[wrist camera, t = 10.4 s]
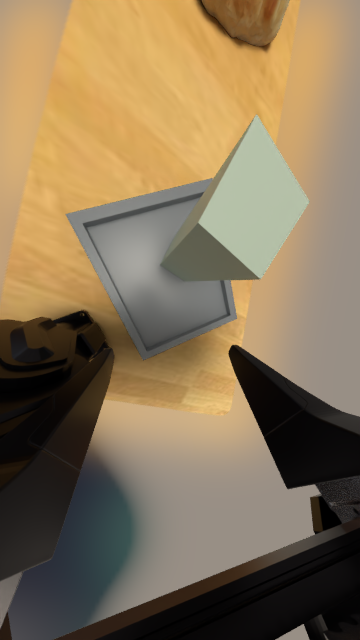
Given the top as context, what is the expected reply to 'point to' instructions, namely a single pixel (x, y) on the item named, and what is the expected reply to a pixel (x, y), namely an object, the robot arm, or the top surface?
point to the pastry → (249, 18)
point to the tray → (151, 268)
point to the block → (239, 215)
